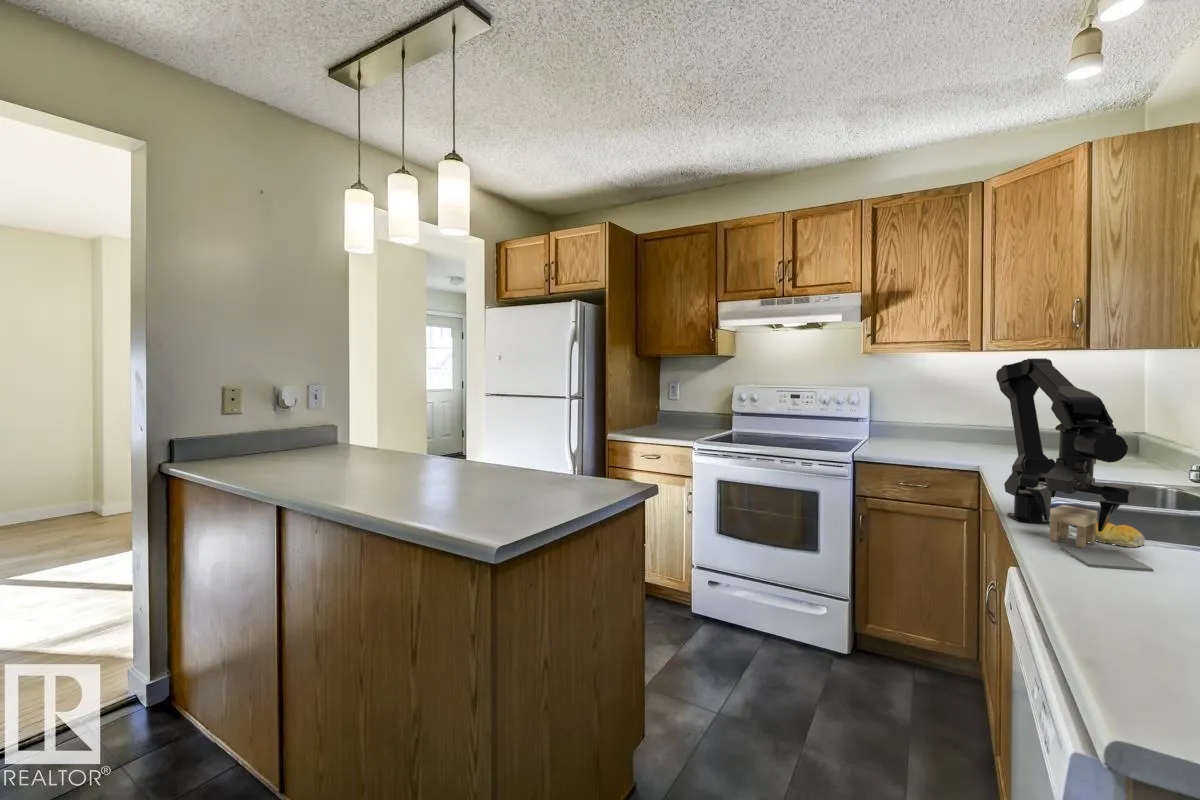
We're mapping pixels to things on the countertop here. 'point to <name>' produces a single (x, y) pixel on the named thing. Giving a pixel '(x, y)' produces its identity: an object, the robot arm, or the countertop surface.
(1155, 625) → the countertop surface
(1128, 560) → the mat
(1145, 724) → the countertop surface
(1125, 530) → the bread roll
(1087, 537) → the stool
